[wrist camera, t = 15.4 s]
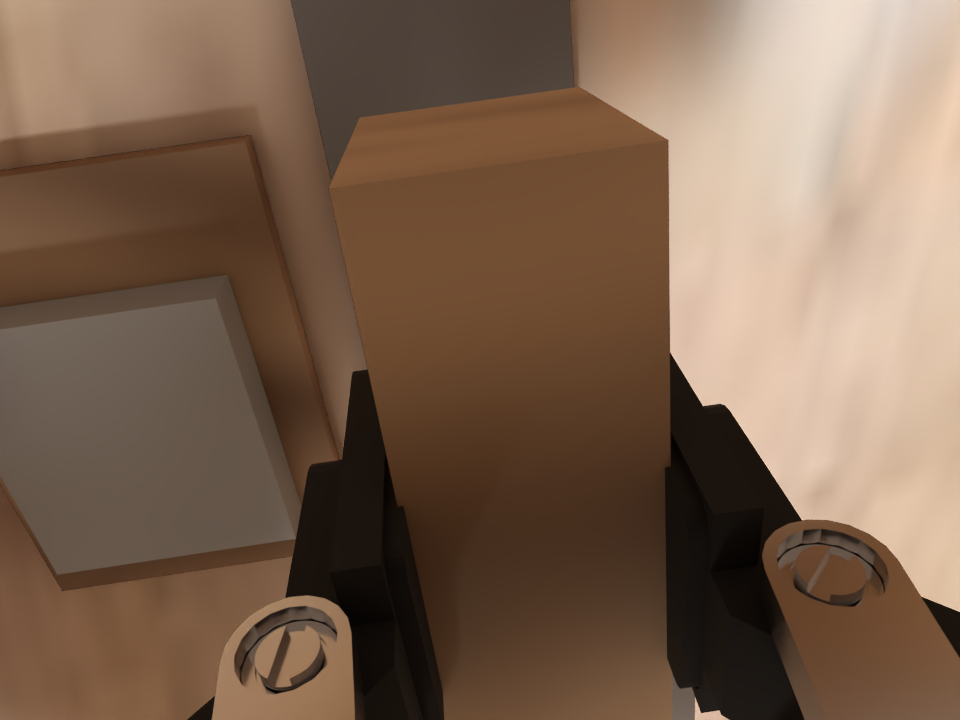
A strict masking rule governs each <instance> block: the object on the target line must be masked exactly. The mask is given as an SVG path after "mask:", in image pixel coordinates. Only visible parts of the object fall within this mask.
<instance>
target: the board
mask: <svg viewBox="0 0 960 720" xmlns="http://www.w3.org/2000/svg"><path fill="white" fill-rule="evenodd" d="M221 275H228V277H229V280H230V284H231V287H232V290H233V293H234V296H235V299H236V302H237V306H238V309H239V312H240V315H241V318H242V321H243V324H244V327H245V331H246V334H247V337H248V340H249V343H250V346H251V349H252V353H253V356H254V359H255V362H256V365H257V368H258V371H259V375H260V378H261V381H262V384H263V387H264V390H265V393H266V396H267V400H268V403H269V406H270V409H271V412H272V415H273V418H274V422H275V425H276V428H277V431H278V434H279V437H280V440H281V444H282V447H283V450H284V453H285V456H286V459H287V462H288V465H289V469H290V472H291V475H292V478H293V481H294V484H295V487H296V491H297V494H298V497H299V500H300V503H301V506H302V501H303V495H304V490H305V484H306V478H307V473H308V470H309V467H310V466H311V465H312V464H315V463H322V462H329V461H336V460H339V457H338V453H337V450H336V446H335V442H334V439H333V435H332V431H331V428H330V424H329V420H328V417H327V413H326V409H325V406H324V402H323V398H322V395H321V391H320V387H319V384H318V380H317V376H316V373H315V369H314V365H313V362H312V358H311V354H310V351H309V347H308V343H307V340H306V336H305V332H304V329H303V325H302V321H301V318H300V314H299V310H298V307H297V303H296V299H295V296H294V292H293V288H292V285H291V281H290V277H289V274H288V270H287V266H286V263H285V259H284V255H283V252H282V248H281V245H280V241H279V237H278V234H277V230H276V226H275V223H274V219H273V215H272V212H271V208H270V204H269V201H268V197H267V193H266V190H265V186H264V182H263V179H262V175H261V171H260V168H259V164H258V160H257V157H256V153H255V149H254V146H253V142H252V138H251V135H249V136H242V137H235V138H228V139H221V140H214V141H207V142H200V143H193V144H185V145H178V146H171V147H164V148H157V149H150V150H143V151H136V152H129V153H122V154H115V155H108V156H101V157H93V158H86V159H79V160H72V161H65V162H58V163H51V164H44V165H37V166H30V167H23V168H16V169H9V170H1V171H0V307H7V306H14V305H21V304H28V303H35V302H42V301H48V300H55V299H62V298H69V297H76V296H83V295H90V294H97V293H104V292H111V291H118V290H125V289H131V288H138V287H145V286H152V285H159V284H166V283H173V282H180V281H187V280H194V279H201V278H208V277H215V276H221ZM0 485H1V487H2V489H3V490H4V492H5V494H6V495H7V497H8V499H9V501H10V502H11V504H12V506H13V507H14V509H15V511H16V513H17V514H18V516H19V518H20V519H21V521H22V523H23V525H24V526H25V528H26V530H27V531H28V533H29V535H30V537H31V538H32V540H33V542H34V543H35V545H36V547H37V548H38V550H39V552H40V554H41V555H42V557H43V559H44V560H45V562H46V564H47V566H48V567H49V569H50V571H51V572H52V574H53V576H54V578H55V579H56V581H57V583H58V584H59V586H60V588H61V590H62V591H65V590H72V589H79V588H85V587H92V586H99V585H105V584H112V583H118V582H125V581H132V580H138V579H145V578H151V577H158V576H165V575H171V574H178V573H185V572H191V571H198V570H204V569H211V568H218V567H224V566H231V565H237V564H244V563H251V562H257V561H264V560H271V559H277V558H284V557H290V556H293V552H294V547H295V541H296V539H291V540H284V541H277V542H271V543H264V544H257V545H251V546H244V547H237V548H231V549H224V550H218V551H211V552H204V553H198V554H191V555H184V556H178V557H171V558H165V559H158V560H151V561H145V562H138V563H131V564H125V565H118V566H111V567H105V568H98V569H92V570H85V571H78V572H72V573H65V574H58V575H57V573H56V572H55V570H54V568H53V566H52V565H51V563H50V561H49V559H48V558H47V556H46V554H45V553H44V551H43V549H42V547H41V546H40V544H39V542H38V540H37V539H36V537H35V535H34V534H33V532H32V530H31V528H30V527H29V525H28V523H27V521H26V520H25V518H24V516H23V515H22V513H21V511H20V509H19V508H18V506H17V504H16V502H15V501H14V499H13V497H12V496H11V494H10V492H9V490H8V489H7V487H6V485H5V483H4V482H3V480H2V478H1V477H0Z"/></svg>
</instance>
